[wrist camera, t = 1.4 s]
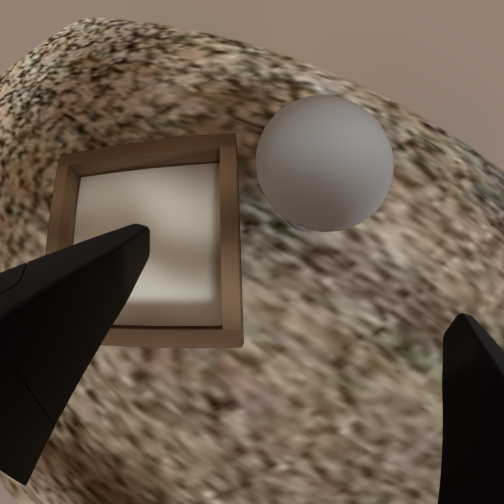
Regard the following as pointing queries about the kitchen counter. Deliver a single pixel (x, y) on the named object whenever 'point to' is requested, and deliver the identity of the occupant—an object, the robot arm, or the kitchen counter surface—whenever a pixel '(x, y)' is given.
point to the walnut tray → (163, 234)
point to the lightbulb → (324, 163)
